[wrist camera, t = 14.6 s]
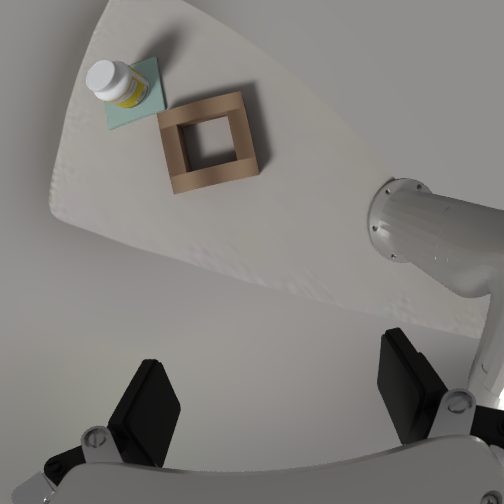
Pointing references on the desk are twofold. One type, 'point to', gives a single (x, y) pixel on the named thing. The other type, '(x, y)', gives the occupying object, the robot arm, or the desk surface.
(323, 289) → the desk surface
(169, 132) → the can holder
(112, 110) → the coaster plate
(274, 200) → the desk surface
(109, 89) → the supplement bottle
